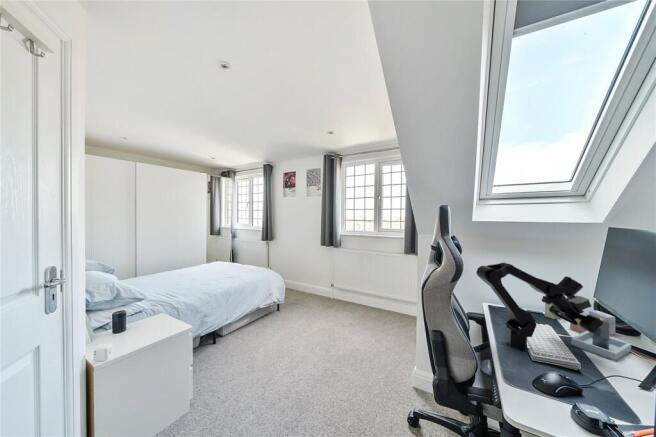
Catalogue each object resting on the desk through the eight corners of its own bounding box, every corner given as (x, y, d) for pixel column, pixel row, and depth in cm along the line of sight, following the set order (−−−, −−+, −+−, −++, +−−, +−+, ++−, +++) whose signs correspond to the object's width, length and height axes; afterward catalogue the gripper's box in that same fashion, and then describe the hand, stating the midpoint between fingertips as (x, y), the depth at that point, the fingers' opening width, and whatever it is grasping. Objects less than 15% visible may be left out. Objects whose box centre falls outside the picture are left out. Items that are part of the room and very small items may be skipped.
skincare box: (553, 319, 131) (553, 297, 130) (544, 316, 135) (544, 294, 135) (561, 318, 133) (562, 296, 132) (552, 315, 137) (552, 293, 136)
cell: (600, 349, 101) (601, 321, 101) (588, 343, 106) (589, 316, 106) (612, 349, 101) (613, 321, 101) (600, 343, 106) (600, 316, 106)
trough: (615, 361, 94) (616, 353, 94) (571, 344, 106) (571, 338, 106) (630, 351, 101) (631, 344, 101) (587, 336, 113) (587, 330, 113)
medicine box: (615, 335, 114) (616, 317, 114) (606, 335, 114) (606, 317, 114) (597, 327, 122) (597, 310, 122) (588, 327, 122) (588, 310, 122)
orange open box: (589, 335, 114) (590, 320, 114) (570, 329, 120) (570, 315, 120) (596, 332, 117) (596, 318, 117) (576, 326, 123) (576, 312, 123)
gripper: (599, 298, 94) (628, 327, 94) (556, 284, 113) (580, 308, 112) (577, 318, 95) (606, 346, 94) (538, 300, 113) (562, 324, 113)
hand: (587, 329), depth 104 cm, fingers open, 9 cm apart
